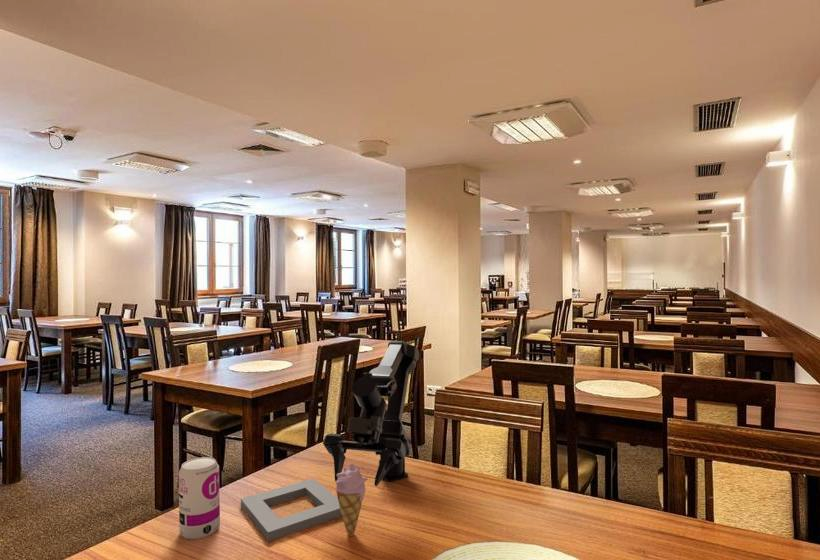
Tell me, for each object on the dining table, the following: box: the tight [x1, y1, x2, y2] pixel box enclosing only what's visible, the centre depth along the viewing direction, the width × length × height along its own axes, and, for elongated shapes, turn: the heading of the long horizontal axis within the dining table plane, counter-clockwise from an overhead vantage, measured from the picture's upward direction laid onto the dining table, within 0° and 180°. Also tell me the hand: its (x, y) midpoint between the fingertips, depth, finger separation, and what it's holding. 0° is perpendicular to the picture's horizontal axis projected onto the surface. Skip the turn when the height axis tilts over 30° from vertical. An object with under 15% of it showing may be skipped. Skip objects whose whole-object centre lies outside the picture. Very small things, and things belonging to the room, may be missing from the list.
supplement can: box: [178, 456, 221, 540], centre depth 106 cm, size 8×8×15 cm
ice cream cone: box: [335, 463, 369, 537], centre depth 104 cm, size 7×6×15 cm
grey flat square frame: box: [240, 478, 342, 542], centre depth 115 cm, size 19×19×2 cm
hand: (355, 483), depth 106 cm, fingers open, 9 cm apart
